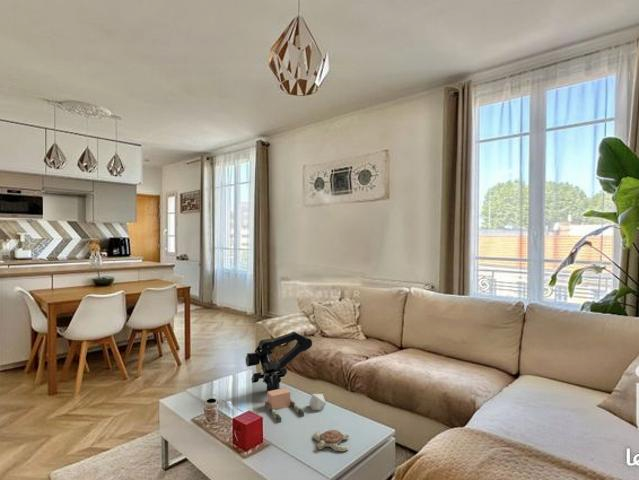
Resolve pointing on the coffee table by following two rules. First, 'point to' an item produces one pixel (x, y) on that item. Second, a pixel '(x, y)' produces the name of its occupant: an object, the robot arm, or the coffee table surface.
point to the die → (317, 402)
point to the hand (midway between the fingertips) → (273, 390)
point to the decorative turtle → (331, 440)
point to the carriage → (278, 398)
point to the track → (277, 413)
